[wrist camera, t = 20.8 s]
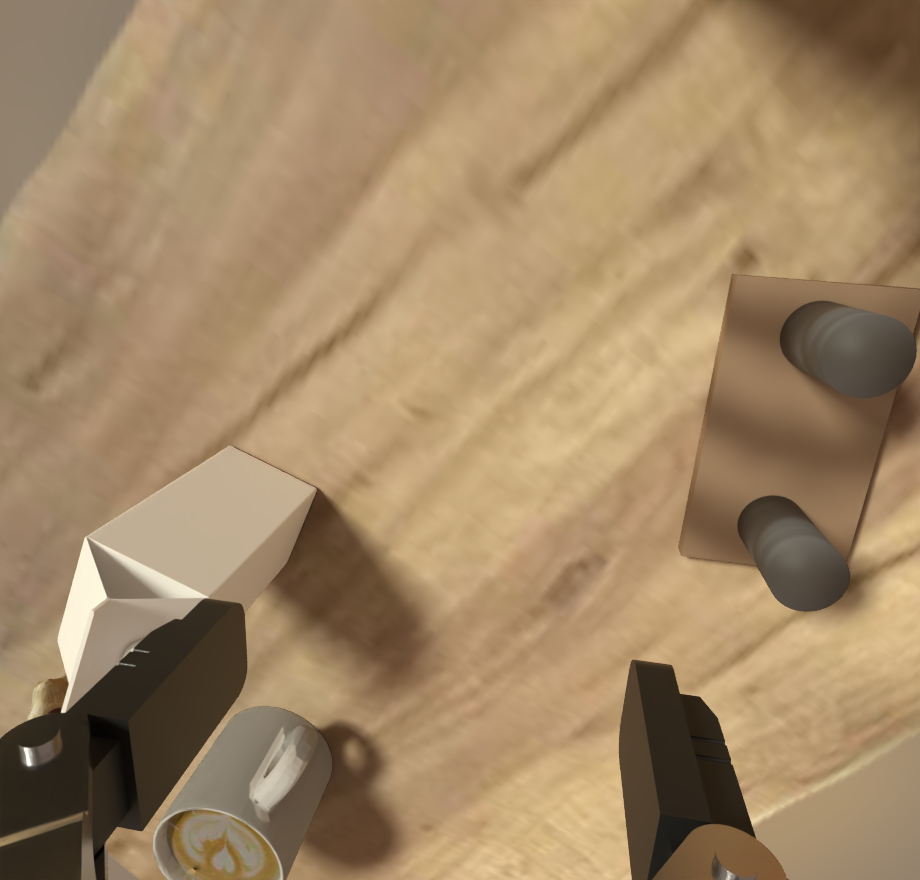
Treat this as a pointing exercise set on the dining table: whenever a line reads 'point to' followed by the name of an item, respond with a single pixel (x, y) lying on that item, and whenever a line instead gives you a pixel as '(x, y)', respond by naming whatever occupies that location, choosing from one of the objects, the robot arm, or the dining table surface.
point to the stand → (796, 428)
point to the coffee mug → (246, 801)
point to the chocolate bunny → (48, 697)
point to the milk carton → (178, 559)
